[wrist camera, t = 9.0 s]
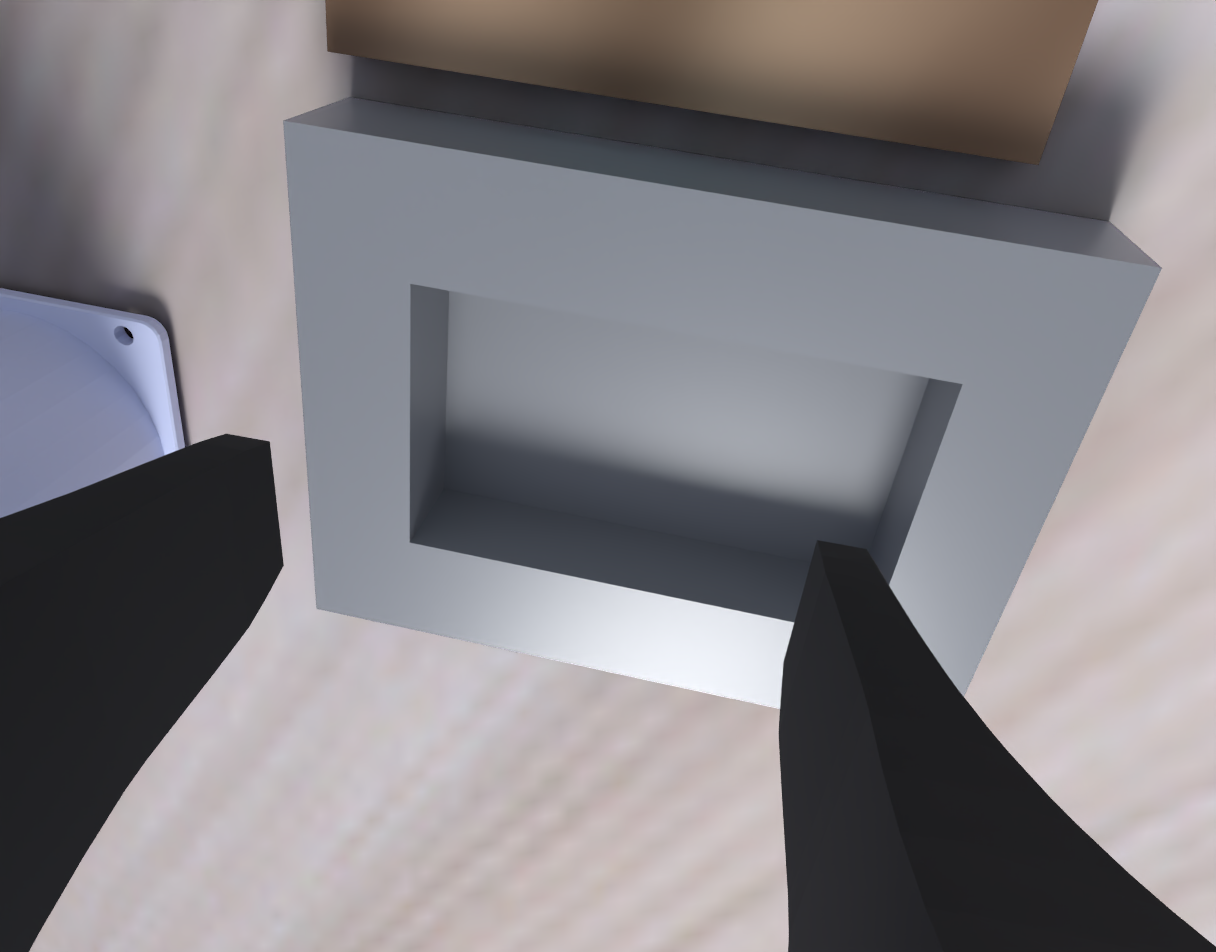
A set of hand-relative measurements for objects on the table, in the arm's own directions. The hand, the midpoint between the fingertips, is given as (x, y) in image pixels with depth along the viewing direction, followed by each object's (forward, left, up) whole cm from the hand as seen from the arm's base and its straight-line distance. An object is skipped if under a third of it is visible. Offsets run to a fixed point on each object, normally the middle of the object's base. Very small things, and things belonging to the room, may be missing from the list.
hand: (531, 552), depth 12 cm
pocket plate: (+1, -3, -10) cm, 11 cm away
